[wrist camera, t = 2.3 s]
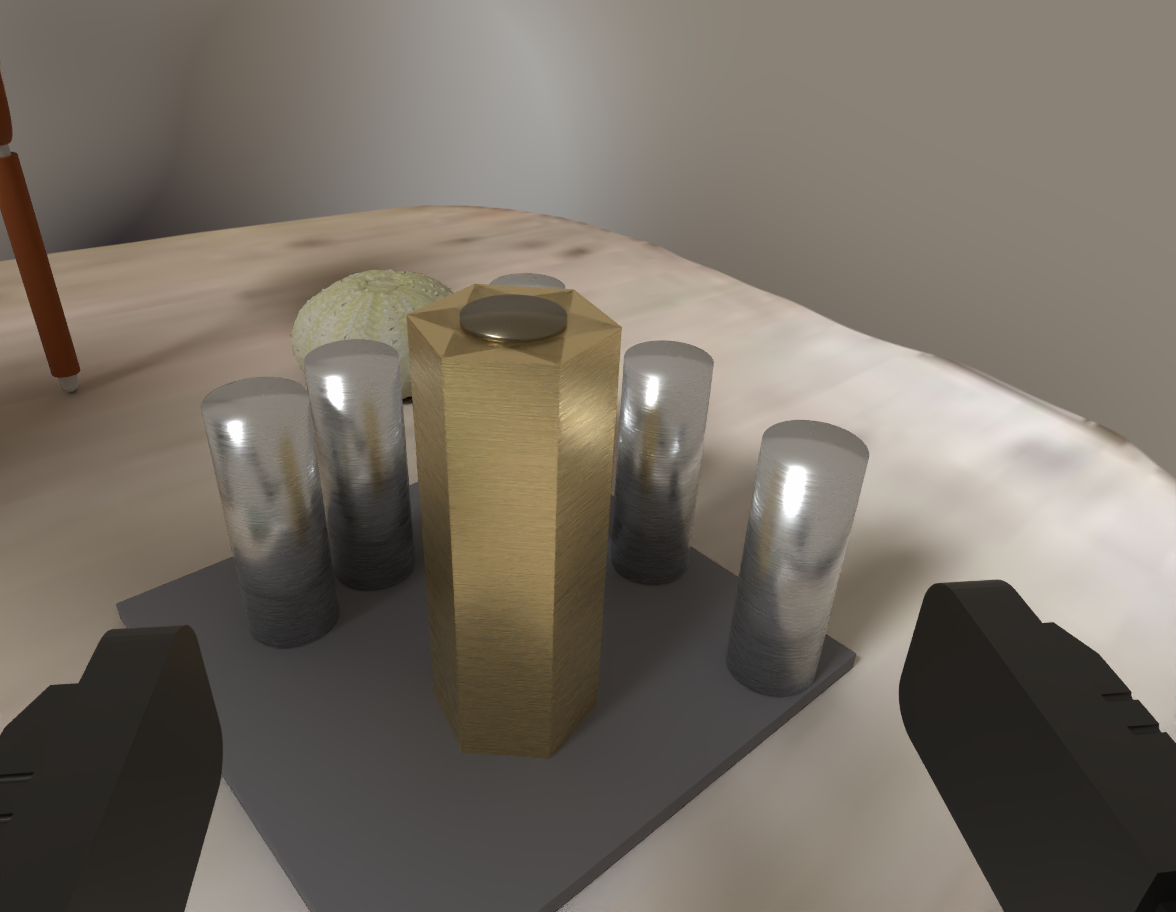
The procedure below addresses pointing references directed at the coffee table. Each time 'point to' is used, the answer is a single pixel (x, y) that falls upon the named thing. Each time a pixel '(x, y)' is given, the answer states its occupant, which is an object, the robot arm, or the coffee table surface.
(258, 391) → the spacer posts
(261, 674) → the mat
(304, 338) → the sea urchin shell
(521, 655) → the gold hexagonal pillar
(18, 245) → the magnifying glass
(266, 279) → the coffee table surface
